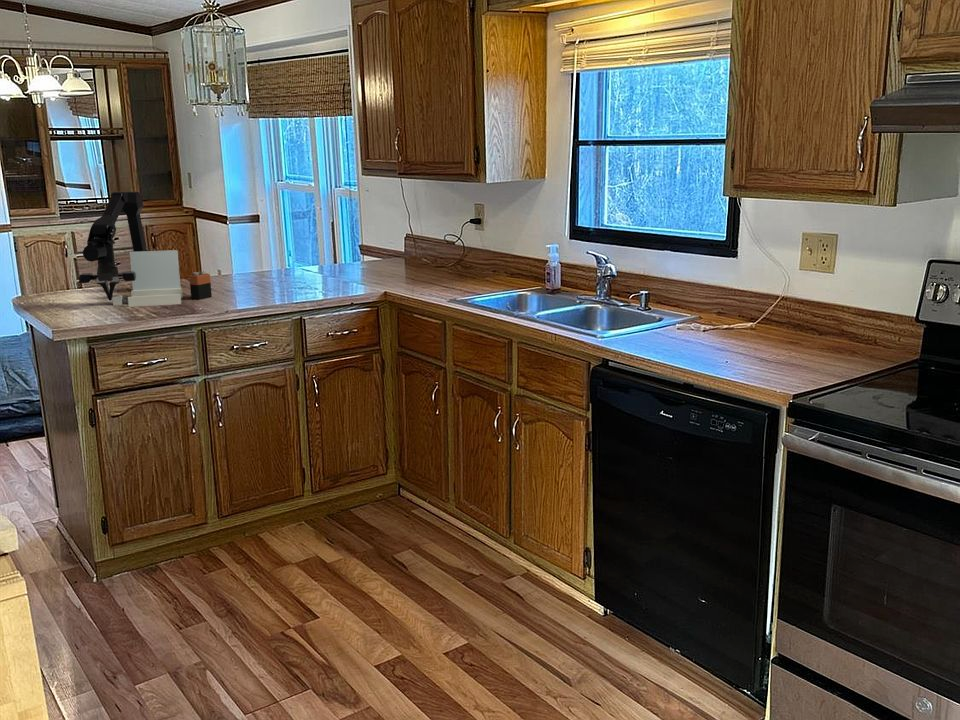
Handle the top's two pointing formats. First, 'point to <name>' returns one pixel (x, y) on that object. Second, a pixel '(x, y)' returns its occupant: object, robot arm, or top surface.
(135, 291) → the white slat
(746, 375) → the top surface
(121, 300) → the grey bar
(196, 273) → the battery
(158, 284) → the cover
